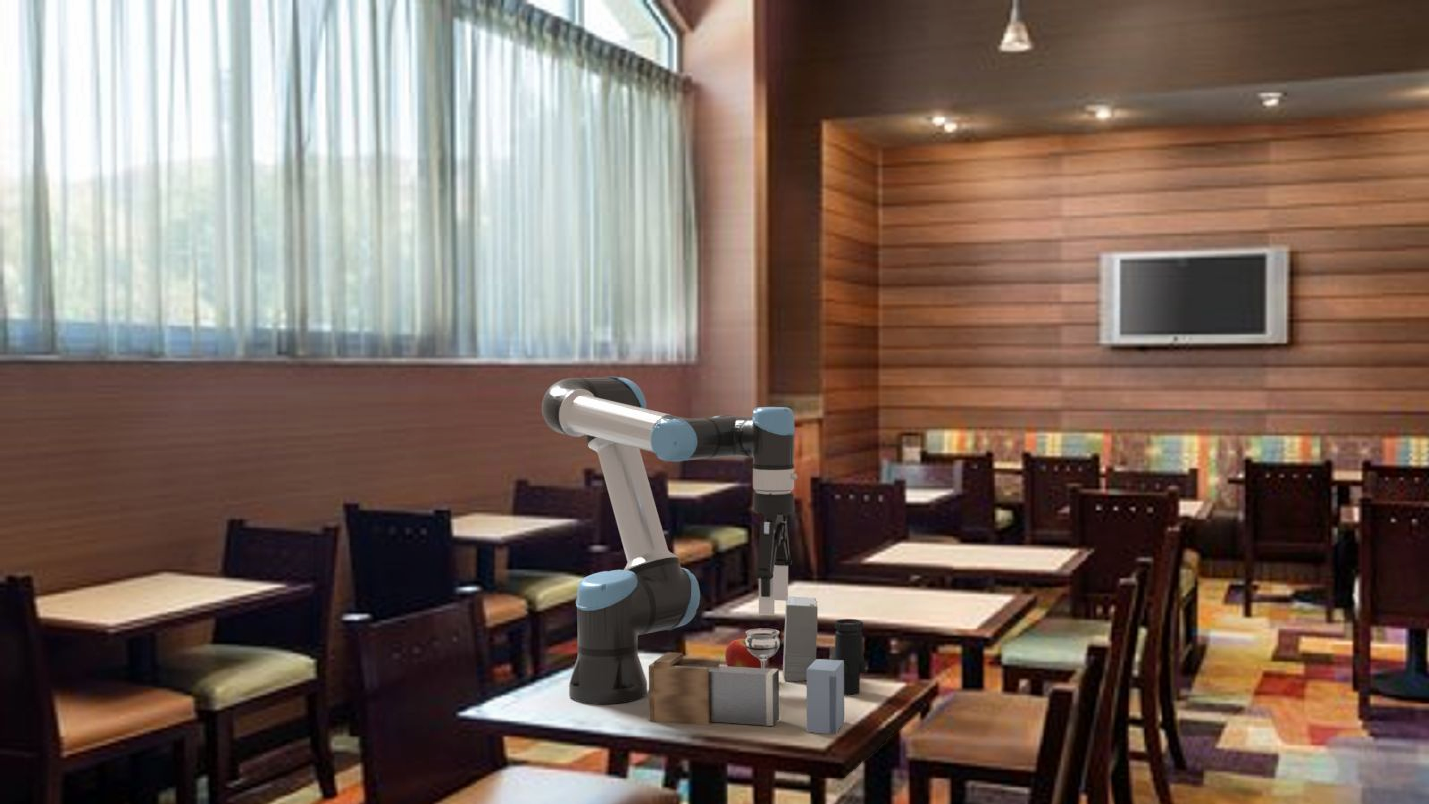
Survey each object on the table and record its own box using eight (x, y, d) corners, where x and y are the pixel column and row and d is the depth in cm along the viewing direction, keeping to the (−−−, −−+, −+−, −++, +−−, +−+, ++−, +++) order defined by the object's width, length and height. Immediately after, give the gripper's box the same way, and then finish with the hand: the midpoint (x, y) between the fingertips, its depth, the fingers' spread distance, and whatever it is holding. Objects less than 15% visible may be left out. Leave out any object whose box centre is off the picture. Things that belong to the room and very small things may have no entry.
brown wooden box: (649, 720, 237) (648, 661, 237) (663, 709, 245) (662, 652, 244) (707, 725, 234) (707, 664, 234) (720, 713, 242) (719, 655, 241)
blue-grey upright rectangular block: (806, 732, 229) (806, 669, 229) (816, 720, 237) (816, 659, 236) (835, 734, 228) (834, 670, 227) (844, 721, 235) (843, 660, 235)
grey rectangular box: (660, 718, 238) (659, 668, 238) (668, 711, 243) (667, 662, 243) (773, 726, 232) (772, 674, 232) (779, 719, 237) (778, 668, 237)
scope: (829, 615, 262) (875, 619, 257) (829, 684, 263) (876, 690, 258) (811, 622, 255) (859, 627, 250) (812, 693, 255) (860, 699, 251)
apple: (750, 674, 272) (749, 626, 272) (773, 682, 265) (773, 632, 265) (717, 679, 267) (717, 630, 267) (740, 687, 261) (739, 637, 260)
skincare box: (782, 672, 274) (781, 596, 273) (817, 671, 273) (816, 595, 273) (783, 682, 265) (782, 603, 265) (819, 681, 265) (818, 603, 264)
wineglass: (786, 695, 254) (785, 633, 254) (753, 699, 252) (752, 636, 251) (772, 687, 260) (772, 627, 260) (740, 691, 258) (739, 630, 258)
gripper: (781, 499, 228) (781, 621, 229) (805, 485, 253) (805, 595, 253) (739, 498, 230) (739, 619, 231) (766, 484, 254) (766, 593, 255)
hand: (773, 607), depth 242 cm, fingers open, 13 cm apart
